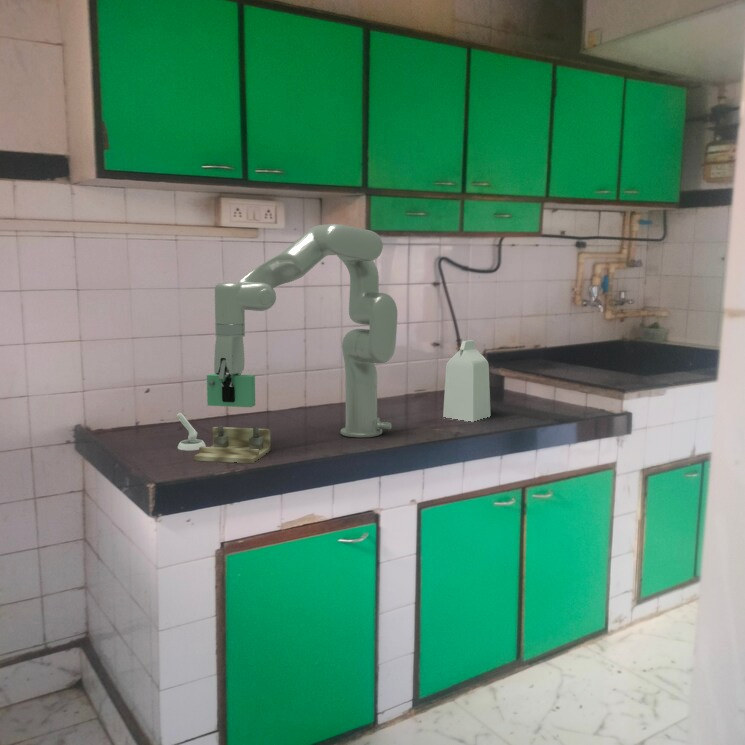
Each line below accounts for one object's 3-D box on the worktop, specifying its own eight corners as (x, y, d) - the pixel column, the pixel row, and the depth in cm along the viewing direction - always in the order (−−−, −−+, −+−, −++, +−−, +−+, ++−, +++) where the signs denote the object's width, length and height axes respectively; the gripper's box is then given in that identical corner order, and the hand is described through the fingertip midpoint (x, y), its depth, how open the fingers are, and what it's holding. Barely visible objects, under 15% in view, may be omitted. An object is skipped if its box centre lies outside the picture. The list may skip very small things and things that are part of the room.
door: (255, 405, 190) (254, 375, 189) (249, 407, 186) (249, 377, 185) (212, 403, 193) (211, 373, 192) (205, 406, 189) (205, 375, 188)
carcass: (270, 450, 197) (270, 425, 196) (253, 463, 184) (252, 436, 183) (215, 448, 200) (214, 423, 199) (193, 460, 186) (193, 433, 186)
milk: (473, 422, 237) (474, 343, 233) (443, 418, 243) (444, 341, 240) (490, 416, 246) (492, 340, 243) (461, 412, 253) (462, 338, 250)
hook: (159, 427, 202) (179, 412, 205) (186, 460, 204) (206, 444, 206) (161, 427, 195) (182, 410, 198) (189, 461, 197) (209, 444, 200)
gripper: (228, 328, 196) (229, 395, 199) (203, 332, 180) (205, 405, 182) (254, 329, 195) (255, 396, 197) (232, 333, 179) (233, 406, 181)
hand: (231, 400), depth 190 cm, fingers closed on door, 3 cm apart
